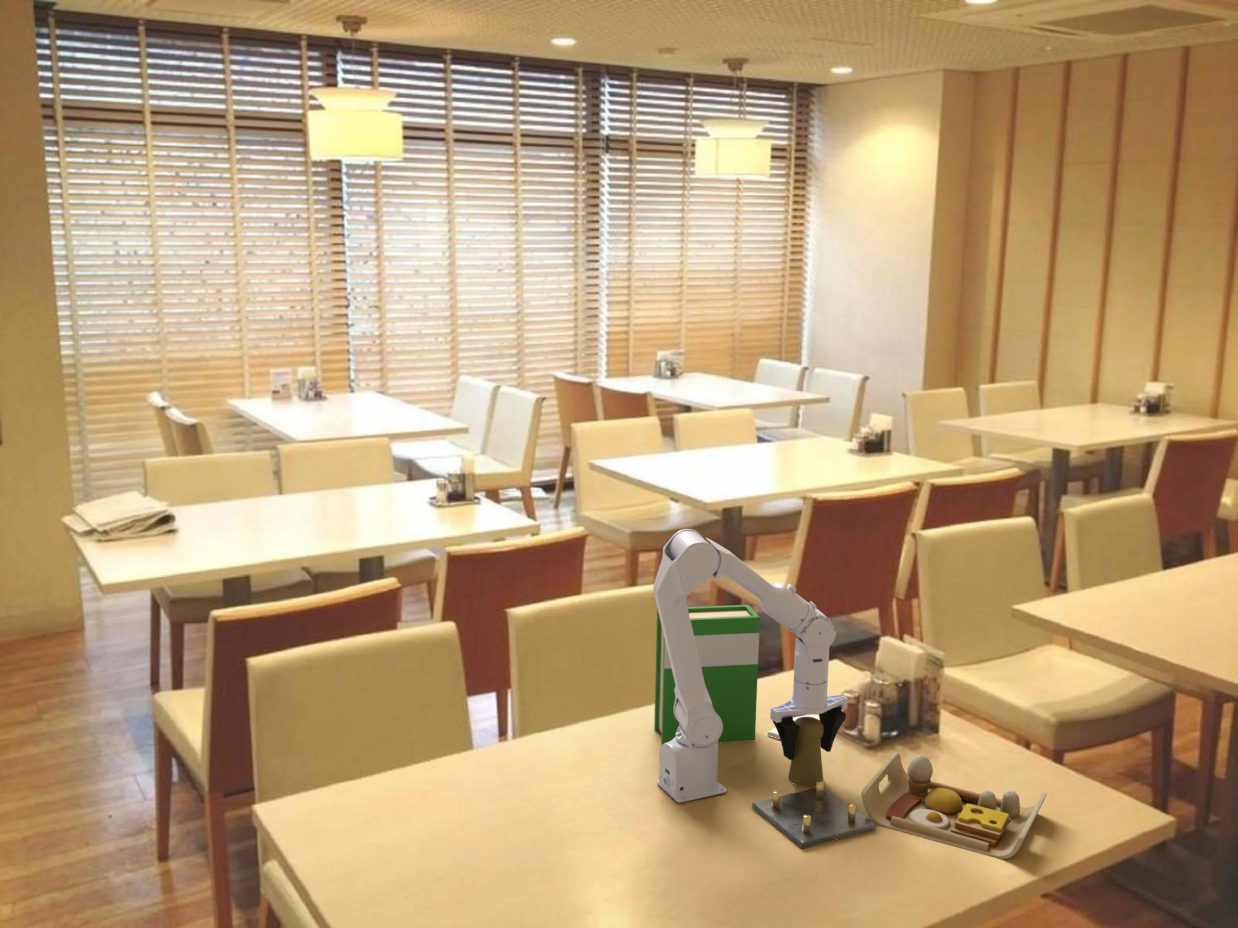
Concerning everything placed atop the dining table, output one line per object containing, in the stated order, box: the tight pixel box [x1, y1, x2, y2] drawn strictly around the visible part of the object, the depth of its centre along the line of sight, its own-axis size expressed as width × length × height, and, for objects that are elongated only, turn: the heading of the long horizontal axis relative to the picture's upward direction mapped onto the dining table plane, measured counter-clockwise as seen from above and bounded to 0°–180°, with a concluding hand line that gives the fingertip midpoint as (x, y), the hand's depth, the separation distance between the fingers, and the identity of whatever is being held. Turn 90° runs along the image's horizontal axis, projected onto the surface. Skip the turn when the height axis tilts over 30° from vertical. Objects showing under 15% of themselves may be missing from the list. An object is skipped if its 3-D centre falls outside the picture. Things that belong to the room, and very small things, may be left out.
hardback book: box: [653, 604, 761, 746], centre depth 209 cm, size 18×7×24 cm, turn 100°
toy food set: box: [860, 751, 1048, 860], centre depth 180 cm, size 25×18×8 cm
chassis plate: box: [752, 780, 877, 850], centre depth 179 cm, size 14×14×4 cm
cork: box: [787, 716, 824, 788], centre depth 192 cm, size 6×6×11 cm
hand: (807, 753), depth 193 cm, fingers open, 7 cm apart
